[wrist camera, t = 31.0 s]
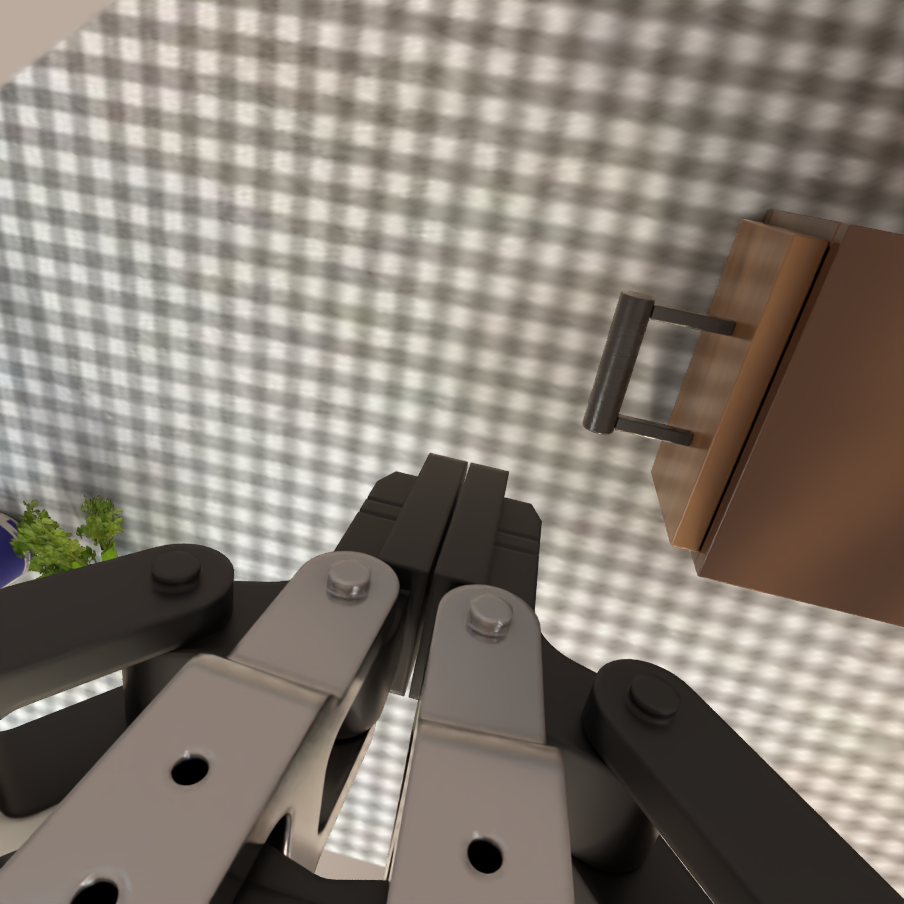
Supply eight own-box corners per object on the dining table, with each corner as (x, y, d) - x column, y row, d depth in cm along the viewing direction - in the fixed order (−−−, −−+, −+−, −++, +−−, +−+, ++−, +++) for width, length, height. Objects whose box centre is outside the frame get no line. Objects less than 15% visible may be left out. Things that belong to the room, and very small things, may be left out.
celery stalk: (210, 771, 54) (28, 477, 41) (286, 760, 53) (125, 456, 40) (182, 843, 49) (-39, 530, 35) (265, 832, 48) (71, 508, 35)
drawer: (563, 451, 34) (561, 519, 27) (636, 197, 28) (656, 205, 21) (930, 537, 32) (1023, 632, 26) (1085, 287, 26) (1255, 325, 20)
